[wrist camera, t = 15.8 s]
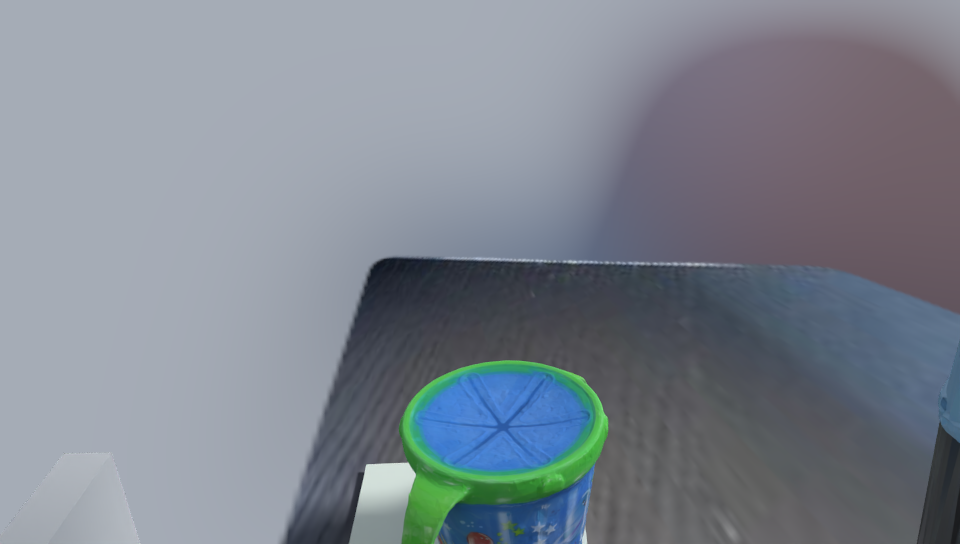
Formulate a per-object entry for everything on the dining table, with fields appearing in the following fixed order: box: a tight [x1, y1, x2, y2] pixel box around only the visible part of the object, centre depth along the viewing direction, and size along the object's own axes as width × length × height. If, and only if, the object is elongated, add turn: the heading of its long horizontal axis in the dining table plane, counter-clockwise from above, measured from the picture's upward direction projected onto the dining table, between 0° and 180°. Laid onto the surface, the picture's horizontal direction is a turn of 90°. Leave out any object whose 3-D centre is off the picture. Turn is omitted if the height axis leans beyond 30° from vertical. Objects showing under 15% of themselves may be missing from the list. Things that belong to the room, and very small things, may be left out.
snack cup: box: [399, 361, 608, 544], centre depth 47 cm, size 16×10×10 cm
